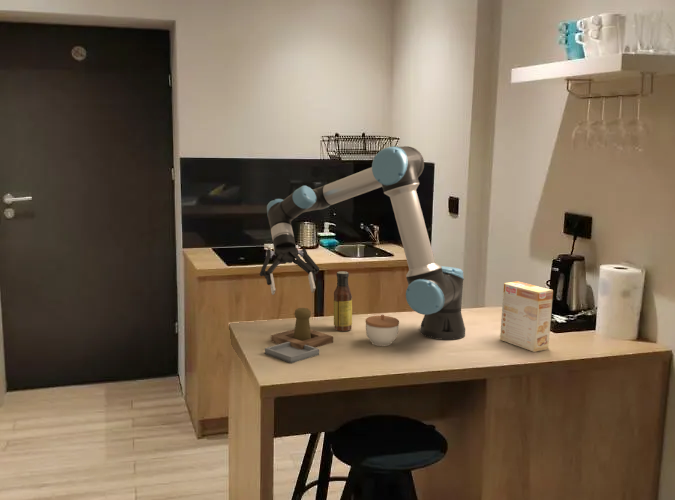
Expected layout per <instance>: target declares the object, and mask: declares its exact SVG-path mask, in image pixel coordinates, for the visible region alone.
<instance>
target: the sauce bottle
mask: <svg viewBox="0 0 675 500" xmlns="http://www.w3.org/2000/svg"><path fill="white" fill-rule="evenodd" d="M349 274H350V273H349V272H348V271H343V270H342V271H337V272H336V280H337V281H336V282H337V283H336V287H335V290H334V292H333V327H334V330H335V331H338V332H350V331H351V330H352V328H353V327H352V326H353V295H352V293H351V290H350V286H349V276H350V275H349Z"/></svg>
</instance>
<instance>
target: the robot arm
mask: <svg viewBox="0 0 675 500" xmlns="http://www.w3.org/2000/svg"><path fill="white" fill-rule="evenodd" d="M424 168H425V160H424V156H423V155H422V153H421V152H420V151H419V150H418V149H417V148H414V147H412V146H406V145H405V146H395V145H392V146H388V147H385V148H382V149H380V150H379V151H378V152H377V153H376V154H375V156H374V158H373V160H372V163H371V167H368V168H366V169H363V170H361V171H359V172H356V173H353V174H351V175H348V176H346V177H343V178H340V179H337V180H335V181H332V182H329V183H327V184H324V185H322V186H319V187H316V188H314V189H312V188H311V187H310V186H307V185H302V186H299V187H298V188H296V189H295V190H294V191H293V192H292V193H291V194H290V195H288V196H286V198H284V199H282V198H274V200H271V201H269V202H268V204H267V205H266V212H267V215H266V216H267V219H268V223H269V228H270V233H271V239H272V244H273V245H272V246H273V250H271V249H270V248H269V249H266V252H265V259H264V261H263V264H262V267H261V270H260V271H259V272H260V273H259V276H260V277H264V279H265V280H266V284H267V285H268V286H270V292H271V295H273V296H274V295H275V293H276V287H275V286H276V285H275V279H274V275H273V273H274V271H275V270H276V269H277V267H278V265H280V264H281V263H282V264H287V263H288V264H292V263H293V264H294V265H297V266H298V267H300V268H301V270H303V271H304V272H306V273H307V274H308V275H307V277H308V283H309V287H310V292H311V293H315V291H316V289H317V288H316V281H317V277H316V275H318V273H319V272H320V267H319V266H318V264H316V262H315V260H313V259H312V257H311V256H310V255H309V253H308V252H307V249H306V248H305V247H304V248H302V249H300V250H298V249H297V245H296V240H295V235H294V231H293V226H292V221H294V219H296V218H297V217H299V216H300V215H301V214H303V213H306V212H311V211H319V210H324V209H327V208H329V207H330V206H333V205H335V204H338V203H341V202H343V201H347V200H349V199H351V198H354V197H358V196H361V195H363V194H366V193H369V192H371V191H374V190H377V189H380V188H382V191H383V194H384V195H386V196H387V197H389V199H390V202H391V206H392V211H393V213H394V218H395V221H396V225H397V229H398V233H399V236H400V240H401V243H402V247H403V250H404V255H405V260H406V263H407V265H408V266H407V267H408V272H407V273H406V274H405V276H406V281H407V288H406V290H405V299H406V302H407V304H408V306H409V307H410V308H411V310H413V311H414V312H415V313H418V314H419V315H423V318H422V321H421V324H420V325H419V327H420V328H419V332H420V334H421V335H423V336H425V337H427V338H431V339H435V340H450V341H451V340H459V339H462V338H464V337H465V336H466V327H465V323H464V317H463V313H462V304H463V303H462V302H463V292H464V291H463V288H464V271H463V270H462V269H461V268H458V267H453V266H443V265H439V263H436V259H435V256H434V254H433V253H434V252H433V248H432V244H431V241H430V238H429V233H428V230H427V227H426V223H425V218H424V215H423V210H422V208H421V203H420V199H419V196H418V193H417V192H418V191H417V189H418V187H419V185H420V180H419V177H420V176H421V175H422V173H423V171H424ZM273 256H274V257H275V258H276V259H275V260H274V261H273V263H272V264H271V265H270V267H269V268H268V269H267V267H268V264H269V262H270V259H271V258H273ZM266 269H267V270H266Z"/></svg>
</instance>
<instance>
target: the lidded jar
mask: <svg viewBox="0 0 675 500" xmlns="http://www.w3.org/2000/svg"><path fill="white" fill-rule="evenodd" d="M399 325H400V320H399V319H398V318H396V317H393V316H388V315H384V314H381V315H372V316H369V317H366V319H365V332H366V336H367V338H368V340H369V341H370V342H371V343H372V345H374V346H378V347H387V346H391V344H392V343H393V342H394V341H395V340H396V338H397V336H398V333H399V327H400V326H399Z"/></svg>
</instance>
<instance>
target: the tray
mask: <svg viewBox="0 0 675 500" xmlns="http://www.w3.org/2000/svg"><path fill="white" fill-rule="evenodd" d="M290 343H291V342H285V343H282V344H278V343H277V344H275V345H271V346H268V347H264V354H265V355H267V356H270V357H272V358H276V359H278V360H281V361H284V362H287V363H289V364H294V363H297V362H300V361H303V360H307V359H309V358H310V359H311V358H313V357H316V356H320V349H319V347H311V346H308V345H304V349H302V350H301V349H298V348H295V347H292V346H290Z"/></svg>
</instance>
